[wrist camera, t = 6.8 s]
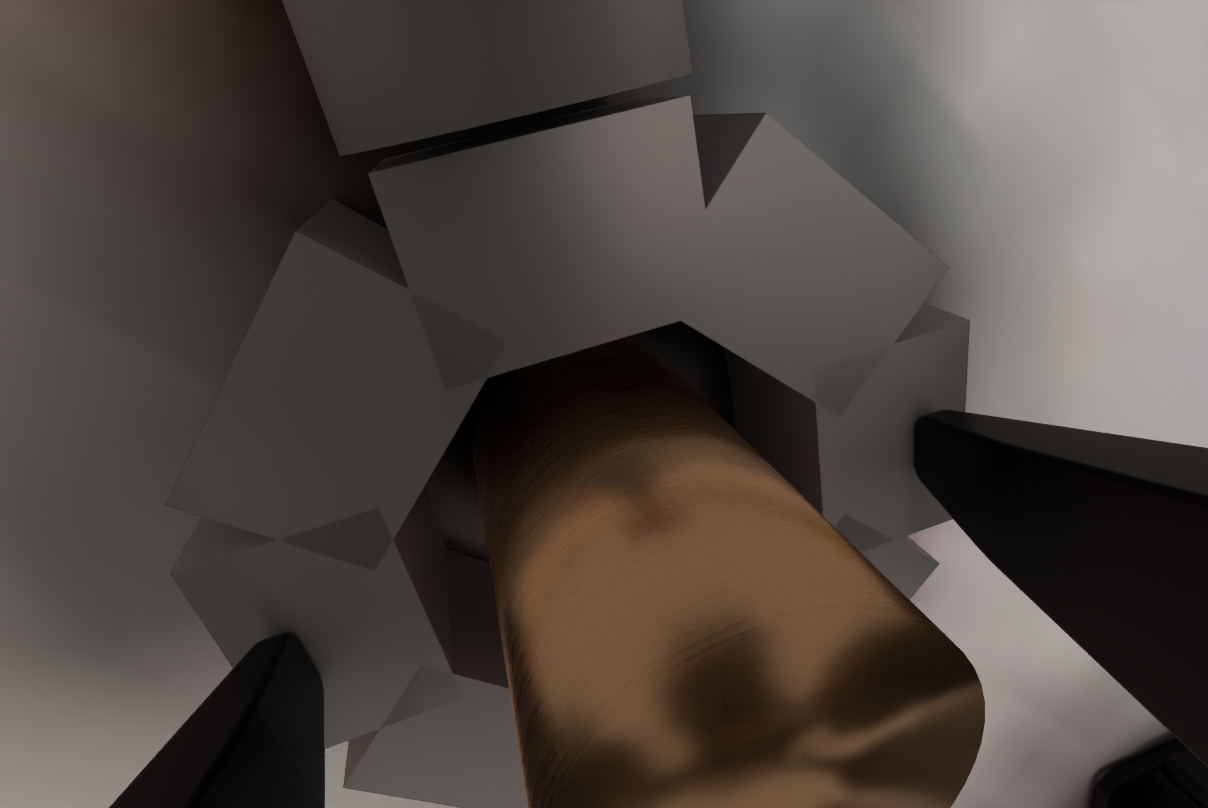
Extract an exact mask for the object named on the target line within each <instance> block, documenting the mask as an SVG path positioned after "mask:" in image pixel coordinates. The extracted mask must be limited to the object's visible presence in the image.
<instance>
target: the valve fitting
mask: <svg viewBox="0 0 1208 808" xmlns="http://www.w3.org/2000/svg"><path fill="white" fill-rule="evenodd" d="M282 1H283V4H284V7H285V9H286V12H287V15H288V18H289V20H290V23H291V26H292V28H293V31H294V34H295V36H296V39H297V42H298V45H299V47H300V50H301V53H302V55H303V58H304V61H305V63H306V66H307V69H308V72H309V74H310V77H311V80H312V82H313V85H314V88H315V90H316V93H317V96H318V99H319V101H320V104H321V107H322V109H323V112H324V115H325V117H326V120H327V123H328V126H329V128H330V131H331V134H332V136H333V139H334V142H335V144H336V147H337V150H338V153H339V155H340V156H343V155H349V154H354V153H359V152H364V151H369V150H374V149H379V148H383V147H388V146H393V145H397V144H402V143H406V142H411V141H415V140H420V139H424V138H429V137H433V136H438V135H442V134H446V133H451V132H455V131H460V130H464V129H468V128H473V127H477V126H481V125H486V124H490V123H494V122H498V121H503V120H507V119H511V118H516V117H520V116H524V115H528V114H533V113H537V112H541V111H545V110H549V109H554V108H558V107H562V106H566V105H570V104H574V103H579V102H583V101H587V100H591V99H595V98H599V97H603V96H607V95H611V94H615V93H619V92H624V91H628V90H632V89H635V88H639V87H643V86H647V85H651V84H655V83H659V82H663V81H667V80H670V79H674V78H678V77H681V76H685V75H688V74H691V73H692V69H691V61H690V54H689V46H688V38H687V31H686V23H685V15H684V8H683V0H282ZM368 175H369V178H370V180H371V183H372V186H373V189H374V192H375V194H376V197H377V200H378V203H379V206H380V209H381V211H382V214H383V217H384V220H385V223H386V225H387V228H388V229H386V228H384V227H382V226H381V225H379V224H377V223H375V222H373V221H372V220H370V219H368V218H366V217H364V216H362V215H361V214H359V213H357V212H355V211H353V210H352V209H350V208H348V207H346V206H344V205H342V204H341V203H339V202H337V201H335V200H331V201H330V202H329V203H328V204H327V205H326V206H324V207H323V208H322V209H321V210H320V211H319V212H317V213H316V214H315V215H314V216H313V217H311V218H310V219H309V220H308V221H307V222H306V223H304V224H303V225H302V226H301V227H300V228H299V229H297V230H296V231H295V233H294V235H293V237H292V239H291V241H290V244H289V246H288V248H287V250H286V252H285V254H284V256H283V258H282V260H281V262H280V264H279V267H278V269H277V271H276V273H275V275H274V277H273V279H272V281H271V283H270V285H269V287H268V290H267V292H266V294H265V296H264V298H263V300H262V302H261V304H260V306H259V308H258V310H257V313H256V315H255V317H254V319H253V321H252V323H251V325H250V327H249V329H248V331H247V334H246V336H245V338H244V340H243V342H242V344H241V346H240V348H239V350H238V352H237V354H236V357H235V359H234V361H233V363H232V365H231V367H230V369H229V371H228V373H227V375H226V377H225V380H224V382H223V384H222V386H221V388H220V390H219V392H218V394H217V396H216V398H215V400H214V403H213V405H212V407H211V409H210V411H209V413H208V415H207V417H206V419H205V421H204V424H203V426H202V428H201V430H200V432H199V434H198V436H197V438H196V440H195V442H194V444H193V447H192V449H191V451H190V453H189V455H188V457H187V459H186V461H185V463H184V465H183V467H182V470H181V472H180V474H179V476H178V478H177V480H176V482H175V484H174V486H173V488H172V490H171V493H170V495H169V497H168V499H167V501H166V503H165V505H167V506H170V507H173V508H176V509H180V510H183V511H186V512H189V513H192V514H195V515H199V516H202V518H201V520H200V521H199V523H198V525H197V527H196V528H195V530H194V532H193V534H192V536H191V537H190V539H189V541H188V543H187V545H186V546H185V548H184V550H183V552H182V554H181V555H180V557H179V559H178V561H177V562H176V564H175V566H174V568H173V570H172V571H171V573H170V574H171V576H172V577H173V579H174V580H175V582H176V583H177V585H178V586H179V588H180V589H181V591H182V592H183V594H184V595H185V597H186V598H187V600H188V601H189V603H190V604H191V606H192V607H193V609H194V610H195V612H196V613H197V615H198V616H199V618H200V619H201V621H202V622H203V624H204V625H205V627H206V628H207V630H208V631H209V633H210V634H211V636H212V637H213V639H214V640H215V642H216V643H217V645H218V646H219V648H220V649H221V651H222V652H223V654H224V655H225V657H226V658H227V660H228V661H229V663H230V664H231V666H232V667H233V668H234V667H235V666H236V665H237V664H238V662H239V661H240V660H241V659H242V658H243V657H244V656H245V655H246V654H247V652H248V651H249V650H250V649H251V648H252V647H253V646H254V645H255V644H256V643H257V642H259V641H261V640H263V639H266V638H269V637H272V636H275V635H278V634H281V633H284V632H292V633H294V634H295V635H296V636H297V637H298V638H299V640H300V641H301V643H302V645H303V646H304V648H305V650H306V652H307V653H308V655H309V657H310V658H311V660H312V662H313V664H314V665H315V667H316V669H317V670H318V672H319V674H320V676H321V679H322V683H323V688H324V745H325V749H326V748H329V747H331V746H334V745H337V744H339V743H342V742H345V741H348V740H349V743H348V751H347V760H346V768H345V777H344V785H343V788H347V789H353V790H359V791H365V792H371V793H377V794H383V795H389V796H395V797H401V798H407V799H413V800H419V801H425V802H431V803H437V804H443V805H449V806H455V807H461V808H528V806H527V800H526V793H525V787H524V781H523V774H522V768H521V761H520V755H519V749H518V742H517V736H516V729H515V723H514V717H513V710H512V704H511V697H510V691H509V685H508V678H507V672H506V665H505V659H504V653H503V646H502V640H501V633H500V627H499V621H498V614H497V608H496V601H495V595H494V589H493V582H492V576H491V569H490V563H488V562H485V561H482V560H479V559H476V558H473V557H470V556H467V555H465V554H462V553H459V552H456V551H453V550H450V549H447V548H446V547H445V544H444V542H443V539H442V537H441V535H440V532H439V530H438V527H437V525H436V522H435V520H434V517H433V515H432V512H431V510H430V507H429V505H428V502H427V500H426V498H425V495H424V493H423V488H424V486H425V484H426V483H427V481H428V479H429V478H430V476H431V474H432V472H433V471H434V469H435V467H436V465H437V464H438V462H439V460H440V459H441V457H442V455H443V453H444V452H445V450H446V448H447V447H448V445H449V443H450V441H451V440H452V438H453V436H454V435H455V433H456V431H457V429H458V428H459V426H460V424H461V423H462V421H463V419H464V417H465V416H466V414H467V412H468V410H469V409H470V407H471V405H472V404H473V402H474V400H475V398H476V397H477V395H478V393H479V392H480V390H481V388H482V386H483V385H484V383H485V381H486V380H487V378H488V377H492V376H495V375H499V374H502V373H505V372H509V371H512V370H515V369H519V368H522V367H526V366H529V365H532V364H536V363H539V362H543V361H546V360H549V359H553V358H556V357H559V356H563V355H566V354H570V353H573V352H576V351H580V350H583V349H586V348H590V347H593V346H597V345H600V344H603V343H607V342H610V341H614V340H617V339H620V338H624V337H627V336H630V335H634V334H637V333H641V332H644V331H647V330H651V329H654V328H658V327H661V326H664V325H668V324H671V323H674V322H678V321H682V322H684V323H685V324H687V325H689V326H690V327H692V328H694V329H695V330H697V331H699V332H700V333H702V334H704V335H705V336H707V337H709V338H710V339H712V340H713V341H715V342H717V343H718V344H720V345H722V346H723V347H725V352H726V360H727V367H728V375H729V382H730V390H731V397H732V405H733V412H734V420H735V427H736V432H738V433H739V434H740V435H741V436H742V437H743V438H744V439H745V440H746V441H747V442H748V443H749V444H750V445H751V446H752V447H753V448H754V449H755V450H756V451H757V452H758V453H759V454H760V455H761V456H762V457H763V458H764V459H765V460H766V461H767V462H768V463H769V464H770V465H771V466H772V467H773V468H774V469H775V470H777V471H778V472H779V473H780V474H781V475H782V476H783V477H784V478H785V479H786V480H787V481H788V482H789V483H790V484H791V485H792V486H793V487H794V488H795V489H796V490H797V491H798V492H799V493H800V494H801V495H802V496H803V497H804V498H805V499H806V500H807V501H808V502H809V503H810V504H811V505H812V506H813V507H814V508H816V509H817V510H818V511H819V512H820V513H821V514H822V515H823V516H824V517H825V518H826V519H827V520H828V521H829V522H830V523H831V524H832V525H833V526H834V527H835V528H836V529H837V530H838V531H839V532H840V533H841V534H842V535H843V536H844V537H845V538H846V539H847V540H848V541H849V542H850V543H851V544H852V545H853V546H855V547H856V548H857V549H858V550H859V551H860V552H861V553H862V554H863V555H864V556H865V557H866V558H867V559H868V560H869V561H870V562H871V563H872V564H873V565H874V566H875V567H876V568H877V569H878V570H879V571H880V572H881V573H882V574H883V575H884V576H885V577H886V578H887V579H888V580H889V581H890V582H891V583H892V584H894V585H895V586H896V587H897V588H898V589H899V590H900V591H901V592H902V593H903V594H904V595H905V596H906V597H907V598H908V599H909V600H910V599H911V597H912V596H913V595H914V594H915V593H916V591H917V590H918V589H919V588H920V587H921V585H922V584H923V583H924V582H925V580H926V579H927V578H928V577H929V576H930V574H931V573H932V572H933V571H934V569H935V568H936V567H937V566H938V565H939V562H937V561H936V560H935V559H934V558H933V557H931V556H930V555H929V554H928V553H927V552H926V551H924V550H923V549H922V548H921V547H920V546H919V545H917V544H916V543H915V542H914V541H913V540H911V539H910V538H909V537H908V536H907V535H910V534H913V533H915V532H918V531H921V530H924V529H926V528H929V527H932V526H934V525H937V524H940V523H943V522H945V521H948V520H951V519H953V518H952V517H951V516H950V515H949V514H948V512H947V511H946V510H945V509H944V508H943V507H942V506H941V504H940V503H939V502H938V501H937V500H936V499H935V497H934V496H933V495H932V494H931V493H930V492H929V491H928V489H927V488H926V487H925V486H924V485H923V484H922V482H921V481H920V480H919V478H918V476H917V474H916V472H915V468H914V425H915V423H916V421H917V419H918V418H920V417H921V416H924V415H927V414H930V413H933V412H936V411H939V410H953V411H960V412H965V404H966V384H967V364H968V344H969V324H970V320H968V319H965V318H963V317H960V316H957V315H954V314H951V313H949V312H946V311H943V310H940V309H937V308H935V307H932V306H929V305H926V304H924V302H925V300H926V299H927V298H928V296H929V295H930V294H931V292H932V291H933V290H934V288H935V287H936V285H937V284H938V283H939V281H940V280H941V279H942V277H943V276H944V275H945V273H946V272H947V270H948V269H949V268H950V267H949V266H947V265H946V264H945V263H944V262H943V261H941V260H940V259H939V258H938V257H937V256H936V255H934V254H933V253H932V252H931V251H930V250H928V249H927V248H926V247H925V246H924V245H922V244H921V243H920V242H919V241H918V240H917V239H915V238H914V237H913V236H912V235H911V234H909V233H908V232H907V231H906V230H905V229H903V228H902V227H901V226H900V225H899V224H898V223H896V222H895V221H894V220H893V219H892V218H890V217H889V216H888V215H887V214H886V213H885V212H883V211H882V210H881V209H880V208H879V207H877V206H876V205H875V204H874V203H873V202H871V201H870V200H869V199H868V198H867V197H866V196H864V195H863V194H862V193H861V192H860V191H858V190H857V189H856V188H855V187H854V186H852V185H851V184H850V183H849V182H848V181H847V180H845V179H844V178H843V177H842V176H841V175H839V174H838V173H837V172H836V171H835V170H834V169H832V168H831V167H830V166H829V165H828V164H826V163H825V162H824V161H823V160H822V159H820V158H819V157H818V156H817V155H816V154H815V153H813V152H812V151H811V150H810V149H809V148H807V147H806V146H805V145H804V144H803V143H801V142H800V141H799V140H798V139H797V138H796V137H794V136H793V135H792V134H791V133H790V132H788V131H787V130H786V129H785V128H784V127H783V126H781V125H780V124H779V123H778V122H777V121H775V120H774V119H773V118H772V117H771V116H769V115H768V114H767V113H744V114H713V115H693V113H692V106H691V98H690V95H689V96H680V97H670V98H661V99H651V100H642V101H632V102H623V103H614V104H610V105H606V106H601V107H597V108H593V109H589V110H585V111H581V112H576V113H572V114H568V115H564V116H560V117H556V118H551V119H547V120H543V121H539V122H535V123H531V124H526V125H522V126H518V127H514V128H510V129H506V130H502V131H497V132H493V133H489V134H485V135H481V136H477V137H472V138H468V139H464V140H460V141H456V142H452V143H447V144H443V145H439V146H435V147H431V148H427V149H422V150H418V151H414V152H410V153H406V154H402V155H397V156H393V157H389V158H385V159H383V160H382V161H381V162H380V163H379V164H378V165H377V166H376V167H375V168H374V169H372V170H371V171H370V172H369V173H368Z"/></svg>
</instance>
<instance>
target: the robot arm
mask: <svg viewBox="0 0 1208 808" xmlns="http://www.w3.org/2000/svg"><path fill="white" fill-rule="evenodd" d="M914 468H915V472H916V474H917V476H918V478H919V480H920V481H921V482H922V484H923V485H924V486H925V487H926V488H927V489H928V491H929V492H930V493H931V494H932V495H933V496H934V497H935V499H936V500H937V501H938V502H939V503H940V504H941V506H942V507H943V508H944V509H945V510H946V511H947V512H948V514H949V515H950V516H951V517H952V518H953V519H954V521H955V522H956V523H957V524H958V525H959V526H960V527H961V529H962V530H963V531H964V532H965V533H966V534H967V536H968V537H969V538H970V539H971V540H972V541H973V542H974V544H975V545H976V546H977V547H978V548H979V549H980V550H981V551H982V552H983V553H984V555H985V556H986V557H987V558H988V559H989V560H990V561H991V562H992V563H993V564H994V565H995V566H996V567H997V568H998V569H999V570H1000V571H1001V572H1002V573H1003V574H1004V575H1006V576H1007V577H1008V578H1009V579H1010V580H1011V581H1012V582H1013V583H1014V584H1015V585H1016V586H1017V587H1018V588H1019V589H1020V590H1021V591H1022V592H1023V593H1025V594H1026V595H1027V596H1028V597H1029V598H1030V599H1031V600H1032V601H1033V602H1034V603H1035V604H1036V605H1037V606H1038V607H1039V608H1040V609H1041V610H1042V611H1043V612H1045V613H1046V614H1047V615H1048V616H1049V617H1050V618H1051V619H1052V620H1053V621H1054V622H1055V623H1056V624H1057V625H1058V626H1059V627H1060V628H1061V629H1062V630H1064V631H1065V632H1066V633H1067V634H1068V635H1069V636H1070V637H1071V638H1072V639H1073V640H1074V641H1075V642H1076V643H1077V644H1078V645H1079V646H1080V647H1081V648H1083V649H1084V650H1085V651H1086V652H1087V653H1088V654H1089V655H1090V656H1091V657H1092V658H1093V659H1094V660H1095V661H1096V662H1097V663H1098V664H1099V665H1100V666H1101V667H1103V668H1104V669H1105V670H1106V671H1107V672H1108V673H1109V674H1110V675H1111V676H1112V677H1113V678H1114V679H1115V680H1116V681H1117V682H1118V683H1119V684H1120V685H1122V686H1123V687H1124V688H1125V689H1126V690H1127V691H1128V692H1129V693H1130V694H1131V695H1132V696H1133V697H1134V698H1135V699H1136V700H1137V701H1138V702H1139V703H1141V704H1142V705H1143V706H1144V707H1145V708H1146V709H1147V710H1148V711H1149V712H1150V713H1151V714H1152V715H1153V716H1154V717H1155V718H1156V719H1157V720H1158V721H1160V722H1161V723H1162V724H1163V725H1164V726H1165V727H1166V728H1167V729H1168V730H1169V731H1170V732H1171V733H1172V734H1173V735H1174V736H1175V737H1176V738H1177V739H1178V740H1180V741H1178V742H1175V743H1173V744H1171V745H1169V746H1167V747H1164V748H1162V749H1160V750H1158V751H1155V752H1153V753H1151V754H1149V755H1146V756H1144V757H1142V758H1140V759H1138V760H1135V761H1133V762H1131V763H1129V764H1126V765H1124V766H1122V767H1120V768H1117V769H1115V770H1113V771H1111V772H1109V773H1108V774H1106V775H1105V776H1104V777H1103V778H1102V779H1101V780H1100V781H1099V783H1098V785H1097V790H1096V794H1095V799H1094V803H1093V808H1208V448H1204V447H1197V446H1190V445H1183V444H1177V443H1170V442H1163V441H1156V440H1150V439H1143V438H1136V437H1129V436H1122V435H1116V434H1109V433H1102V432H1095V431H1089V430H1082V429H1075V428H1068V427H1062V426H1055V425H1048V424H1041V423H1034V422H1028V421H1021V420H1014V419H1007V418H1001V417H994V416H987V415H980V414H974V413H967V412H960V411H953V410H939V411H936V412H933V413H930V414H927V415H924V416H921V417H920V418H918V419H917V421H916V423H915V425H914ZM109 808H325V745H324V688H323V683H322V679H321V676H320V674H319V672H318V670H317V669H316V667H315V665H314V664H313V662H312V660H311V658H310V657H309V655H308V653H307V652H306V650H305V648H304V646H303V645H302V643H301V641H300V640H299V638H298V637H297V636H296V635H295V634H294V633H292V632H284V633H281V634H278V635H275V636H272V637H269V638H266V639H263V640H261V641H259V642H257V643H256V644H255V645H254V646H253V647H252V648H251V649H250V650H249V651H248V652H247V654H246V655H245V656H244V657H243V658H242V659H241V660H240V661H239V662H238V664H237V665H236V666H235V667H234V668H233V669H232V670H231V671H230V673H229V674H228V675H227V676H226V677H225V678H224V679H223V680H222V682H221V683H220V684H219V685H218V686H217V687H216V688H215V689H214V691H213V692H212V693H211V694H210V695H209V696H208V697H207V698H206V700H205V701H204V702H203V703H202V704H201V705H200V706H199V707H198V708H197V710H196V711H195V712H194V713H193V714H192V715H191V716H190V717H189V719H188V720H187V721H186V722H185V723H184V724H183V725H182V726H181V728H180V729H179V730H178V731H177V732H176V733H175V734H174V735H173V737H172V738H171V739H170V740H169V741H168V742H167V743H166V744H165V745H164V747H163V748H162V749H161V750H160V751H159V752H158V753H157V754H156V756H155V757H154V758H153V759H152V760H151V761H150V762H149V763H148V765H147V766H146V767H145V768H144V769H143V770H142V771H141V772H140V773H139V775H138V776H137V777H136V778H135V779H134V780H133V781H132V782H131V784H130V785H129V786H128V787H127V788H126V789H125V790H124V791H123V793H122V794H121V795H120V796H119V797H118V798H117V799H116V800H115V802H114V803H113V804H112V805H111V806H110V807H109Z"/></svg>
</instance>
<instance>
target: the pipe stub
mask: <svg viewBox="0 0 1208 808" xmlns="http://www.w3.org/2000/svg"><path fill="white" fill-rule="evenodd" d="M472 451H473V460H474V467H475V473H476V480H477V486H478V493H479V499H480V505H481V512H482V518H483V525H484V531H485V537H486V544H487V550H488V557H489V563H490V569H491V576H492V582H493V589H494V595H495V601H496V608H497V614H498V621H499V627H500V633H501V640H502V646H503V653H504V659H505V665H506V672H507V678H508V685H509V691H510V697H511V704H512V710H513V717H514V723H515V729H516V736H517V742H518V749H519V755H520V761H521V768H522V774H523V781H524V787H525V793H526V800H527V806H528V808H950V807H951V806H952V804H953V803H954V801H955V800H956V798H957V796H958V795H959V793H960V791H961V790H962V788H963V786H964V784H965V783H966V781H967V779H968V776H969V774H970V772H971V770H972V768H973V765H974V763H975V760H976V757H977V754H978V751H979V748H980V745H981V741H982V735H983V729H984V723H985V701H984V696H983V691H982V686H981V683H980V680H979V678H978V676H977V673H976V671H975V668H974V667H973V665H972V664H971V663H970V661H969V660H968V658H967V657H966V656H965V654H964V653H963V652H962V651H961V650H960V649H959V648H958V647H957V646H956V645H955V644H954V643H953V642H952V641H951V640H950V639H949V638H948V637H947V636H946V635H945V634H944V633H943V632H942V631H941V630H940V629H939V628H938V627H937V626H936V625H935V624H934V623H933V622H931V621H930V620H929V619H928V618H927V617H926V616H925V615H924V614H923V613H922V612H921V611H920V610H919V609H918V608H917V607H916V606H915V605H914V604H913V603H912V602H911V601H910V600H909V599H908V598H907V597H906V596H905V595H904V594H903V593H902V592H901V591H900V590H899V589H898V588H897V587H896V586H895V585H894V584H892V583H891V582H890V581H889V580H888V579H887V578H886V577H885V576H884V575H883V574H882V573H881V572H880V571H879V570H878V569H877V568H876V567H875V566H874V565H873V564H872V563H871V562H870V561H869V560H868V559H867V558H866V557H865V556H864V555H863V554H862V553H861V552H860V551H859V550H858V549H857V548H856V547H855V546H853V545H852V544H851V543H850V542H849V541H848V540H847V539H846V538H845V537H844V536H843V535H842V534H841V533H840V532H839V531H838V530H837V529H836V528H835V527H834V526H833V525H832V524H831V523H830V522H829V521H828V520H827V519H826V518H825V517H824V516H823V515H822V514H821V513H820V512H819V511H818V510H817V509H816V508H814V507H813V506H812V505H811V504H810V503H809V502H808V501H807V500H806V499H805V498H804V497H803V496H802V495H801V494H800V493H799V492H798V491H797V490H796V489H795V488H794V487H793V486H792V485H791V484H790V483H789V482H788V481H787V480H786V479H785V478H784V477H783V476H782V475H781V474H780V473H779V472H778V471H777V470H775V469H774V468H773V467H772V466H771V465H770V464H769V463H768V462H767V461H766V460H765V459H764V458H763V457H762V456H761V455H760V454H759V453H758V452H757V451H756V450H755V449H754V448H753V447H752V446H751V445H750V444H749V443H748V442H747V441H746V440H745V439H744V438H743V437H742V436H741V435H740V434H739V433H738V432H736V431H735V430H734V429H733V428H732V427H731V426H730V425H729V424H728V423H727V422H726V421H725V420H724V419H723V418H722V417H721V416H720V415H719V414H718V413H717V412H716V411H715V410H714V409H713V408H712V407H711V406H710V405H709V404H708V403H707V402H706V401H705V400H704V399H703V398H702V397H701V396H700V395H699V394H697V393H696V392H695V391H694V390H693V389H692V388H691V387H690V386H689V385H688V384H687V383H686V382H685V381H684V380H683V379H682V378H681V377H680V376H679V375H678V374H677V373H676V372H675V371H674V370H673V369H672V368H671V367H670V366H669V365H668V364H667V363H666V362H665V361H663V360H662V359H661V358H660V357H659V356H658V355H657V354H656V353H654V352H653V351H651V350H650V349H648V348H647V347H645V346H643V345H641V344H639V343H637V342H635V341H632V340H629V339H626V338H620V339H617V340H614V341H610V342H607V343H603V344H600V345H597V346H593V347H590V348H586V349H583V350H580V351H576V352H573V353H570V354H566V355H563V356H559V357H556V358H553V359H549V360H546V361H543V362H539V363H536V364H532V365H529V366H526V367H522V368H519V369H515V370H512V371H509V372H505V373H502V374H501V375H500V376H499V378H498V379H497V380H496V381H495V382H494V384H493V385H492V387H491V388H490V390H489V391H488V393H487V394H486V396H485V398H484V400H483V402H482V404H481V406H480V409H479V412H478V415H477V417H476V420H475V425H474V431H473V441H472Z"/></svg>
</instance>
